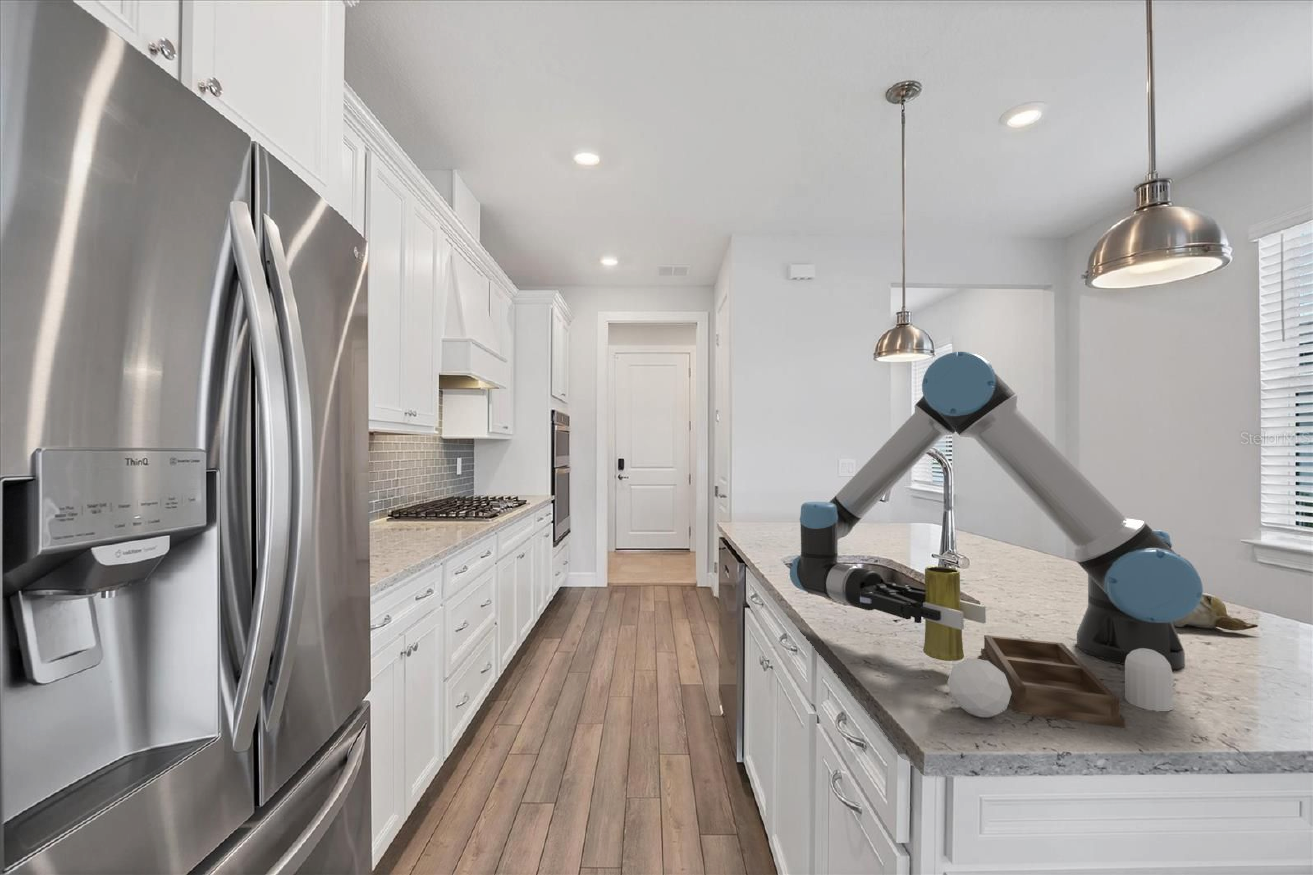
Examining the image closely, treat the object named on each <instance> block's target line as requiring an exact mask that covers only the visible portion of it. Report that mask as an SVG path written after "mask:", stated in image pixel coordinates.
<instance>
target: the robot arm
mask: <svg viewBox="0 0 1313 875" xmlns="http://www.w3.org/2000/svg"><path fill="white" fill-rule="evenodd" d="M921 391H922V397H921V398H920V399H919V400H918V401H917V402H916V403H915V404H914V413H912V415H911V416H910V417H909V418H908V419H907V420H906V421H905V422H904V423H903V424H902V425H901V426H900V427H899V428H898V429H897V430H896V432H895V433H893V435H892V436H891V437H890V438H889V439H888V440H887V441H886V442H885V443H884V444H883V445H882V446H881V447H880V448H879V450H877V452H876V453H875V454H874V455H873V456H872V457H871V458H870V459H869V460H868V461H867V462H866V463H864V465H863V466H862V467H861V468H860V470H859V471H857V473H855V475H854V476H852V478H851V479H850V480H849V481H848V482H847V483H846V484H845V485H844V486H843V487H842V488H841V489H840V491H839V492H838V493H837V494H836V495H835V496H834V497H833V498H831V499H830V500H829V502H828V501H807V502H804V503H803V504H801V506H800V517H799V523H800V555H799V556H797V557H795V558H794V560H793V561H792V563H791V567H790V568H789V578H790V581H791V583H792V584H793V586H795V588H797V589H798V590H801V591H803V592H806V593H808V594H811V595H812V596H813V595H815V596H819V597H821V598H825V599H829V600H831V601H836V602H839V603H842V606H848V605H849V606H853V607H855V608H858V609H861V610H865V611H874V610H876V611H880V612H883V613H886V614H888V615H891V616H896V617H899V618H902V619H905V620H911V619H912V618H914V619H913V620H914V623H915V624H922V618H923V620H929V621H932V622H935V623H939V624H942V625H946V626H949V627H953V628H956V629H960V630H964V628H965V627H964V623H965V622H964V619H965V620H969V621H972V622H976V623H980V624H986V623H987V622H986V621H987V620H986V616H987V614H986V605H982V604H978V603H973V602H970V601H965V600H961V599H960V605H961V611H958V610H954V609H950V608H947V607H943V606H939V605H935V604H931V603H927V602H925V587H920V586H917V585H913V584H912V583H911V584H910V583H909V582H904V583H903V585H900V584H896V583H895V582H889V581H884V579H883V577H882V575H880V573H878V572H877V571H875V570H871V569H867V568H863V567H862V568H861V567H857V566H855V565H849V564H845V563H840V562H838V556H839V555H838V554H839V552H838V548H839V546H838V542H839V541H838V540H840V539H841V538H844V537H846V536H847V535H848V534H849V533H851V532H852V530H853V529H854V528H853V527H855V526H856V525H857V524H858V523H859V522H860V521H861V519H863V517H865V516H866V514H868V513H869V512H870V511H871V510H872V508H873V507H874V506H876V505H877V504H878V502H880V500H882V499H883V497H884V496H885V495H886V494H888V492H889V491H891V490H892V489H893V487H895V486H896V484H897V483H899V481H900V480H902V479H903V477H904V476H905V475H906V474H907V473H908V472H909V471H910V470H911V469H912V468H913V467H914V466H915V465H916V464H918V463H919V461H920V460H921V459H923V457H925V455H926V454H927V453H929V452H930V450H931V449H932V448H934V447H935V445H936V444H937V443H939V441H941V439H942V438H944V437H945V436H952V435H953V434H955V433H957V435H958V436H959V437H963V438H972V439H974V440H975V441H976V442H977V443H978V444H979V445H980V447H982V448H983V450H984V451H985V452H986V453H987V454H988V455H990V457H991V458H992V459H993V460H994V461H995V462H996V463H997V464H998V466H999V467H1000V468H1001V469H1002V470H1003V471H1004V472H1005V473H1006V474H1007V475H1008V476H1009V477H1010V479H1012V480H1013V481H1014V483H1015V484H1016V485H1017V486H1018V487H1019V488H1020V489H1021V490H1022V491H1023V492H1024V493H1025V494H1026V495H1027V496H1028V497H1029V499H1030V500H1031V501H1032V502H1033V503H1034V504H1035V505H1036V506H1037V507H1038V509H1040V511H1042V512H1043V514H1044V515H1045V516H1046V517H1047V518H1048V519H1049V520H1050V521H1051V522H1052V523H1053V524H1054V525H1055V526H1056V527H1057V528H1058V529H1059V531H1060V532H1061V533H1062V534H1063V535H1064V536H1065V537H1066V538H1067V539H1068V540H1069V542H1071V544H1072V545H1073V546H1074V548H1075V551H1074V559H1073V560H1075V561H1076V563H1077V564H1078V566H1080V567H1081V568H1082V569H1083V571H1084V572H1086V573H1087V597H1088V598H1087V608H1086V610H1085V612H1084V614H1083V617H1082V620H1081V621H1080V624H1079V627H1078V629H1077V632H1076V645H1077V647H1078V649H1081V651H1083V652H1085V653H1087V654H1089V655H1091V656H1093V657H1097V658H1100V659H1102V660H1106V661H1108V662H1112V663H1116V664H1121V665H1125V660H1126V656H1127V655H1128V654H1129V653H1130V652H1131V651H1133V650H1136V649H1140V648H1146V649H1151V650H1154V651H1156V652H1158V653H1159V654H1161V655H1163V656H1164V657H1165V658H1166V659H1167V661H1168V662H1169V663H1170V665H1171V669H1172V670H1177V669H1181V668H1183V667H1185V665H1186V660H1185V659H1186V657H1185V654H1186V653H1185V650H1184V647H1183V644H1182V642H1181V640H1180V638H1179V634H1178V633H1177V630H1176V627H1175V626H1174V625H1173V622H1172V621H1176V620H1179V619H1181V618H1184V617H1185V616H1187V615H1189V614H1190V613H1191V612H1193V611H1194V610H1195V608H1196V607H1197V606H1198V604H1199V603H1200V600H1201V598H1202V593H1204V592H1203V582H1202V580H1201V577H1200V575H1199V573H1198V571H1197V569H1196V568H1195V567H1194V565H1193V564H1192V563H1191V562H1190V561H1189V560H1188V559H1186V558H1185V557H1183V556H1181V555H1180V554H1178V553H1176V552H1175V551H1174V550H1173V549H1172V547H1173V544H1172V542H1171V536H1170V535H1169V533H1168V532H1166V531H1164V530H1157V529H1155V530H1154V529H1152V528H1151V527H1150V526H1149V525H1148V524H1147V523H1146V522H1145V521H1143V520H1141V519H1136V518H1135V519H1134V518H1128V517H1125V516H1124V515H1123V514H1122V513H1121V512H1120V511H1119V509H1117V507H1115V505H1113V503H1111V502H1110V501H1109V500H1108V498H1107V497H1106V496H1105V495H1104V494H1102V492H1100V490H1098V488H1097V487H1095V486H1094V484H1092V482H1091V481H1089V479H1087V477H1086V476H1085V475H1084V474H1082V472H1081V471H1080V470H1079V469H1078V468H1077V467H1076V466H1075V465H1074V464H1073V463H1072V462H1071V461H1070V460H1069V459H1068V458H1067V457H1066V456H1065V455H1064V454H1063V452H1061V451H1060V450H1059V449H1058V448H1057V446H1055V445H1054V444H1053V443H1052V442H1051V441H1050V440H1049V439H1048V438H1047V437H1046V436H1045V435H1044V434H1043V433H1042V432H1041V430H1039V429H1038V428H1037V427H1036V426H1035V425H1034V424H1033V423H1032V422H1031V421H1030V420H1029V419H1028V418H1027V416H1025V415H1024V414H1023V412H1021V411H1020V410H1019V409H1018V407H1017V402H1018V394H1016V392H1014V391H1013V389H1012V388H1010V387H1009V385H1008V384H1007V383H1005V381H1004V380H1003V379H1002V378H1001V377H1000V376H999V375H998V374H997V373H996V372H995V370H994V368H993V366H992V364H991V363H990V362H989V361H988V360H987V359H986V358H984V357H983V356H980V355H979V354H975V353H973V352H969V351H953V352H949V353H946V354H943V355H941V356H939V357H938V358H937V359H936V360H934V361H933V362H931V364H930V365H929V366H928V368H927V369H926V371H925V372H924V375H923V378H922V383H921Z"/></svg>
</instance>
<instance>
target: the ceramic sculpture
mask: <svg viewBox="0 0 1313 875" xmlns="http://www.w3.org/2000/svg"><path fill="white" fill-rule="evenodd" d="M1172 622H1173V625H1174V627H1175V628H1182V627H1184V626H1185V625H1189V626H1193V627H1195V628H1200V629H1209V630H1210V629H1211V630H1212V629H1216V628H1220V629H1223V630H1225V631H1226V630H1227V631H1233V632H1235V631H1246V630H1249V629H1255V628H1258V626H1259V625H1258V624H1257V623H1249V622H1246V621H1244V620H1242V619H1239V618H1237V617H1232V616H1229V615H1228V613H1227V607H1226V604H1225V603H1224V602H1223V601H1222V600H1221V599H1219V597H1217V596H1214V595H1212V594H1211V593H1210V594H1209V593H1206V592H1203V593H1202V598H1201V600H1200V603H1199V604H1198V606H1197V607H1196V608H1195V610H1194V611H1193V612H1191V613H1190V614H1189V615H1187V616H1185V617H1184V618H1181V619H1179V620H1176V621H1172Z"/></svg>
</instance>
